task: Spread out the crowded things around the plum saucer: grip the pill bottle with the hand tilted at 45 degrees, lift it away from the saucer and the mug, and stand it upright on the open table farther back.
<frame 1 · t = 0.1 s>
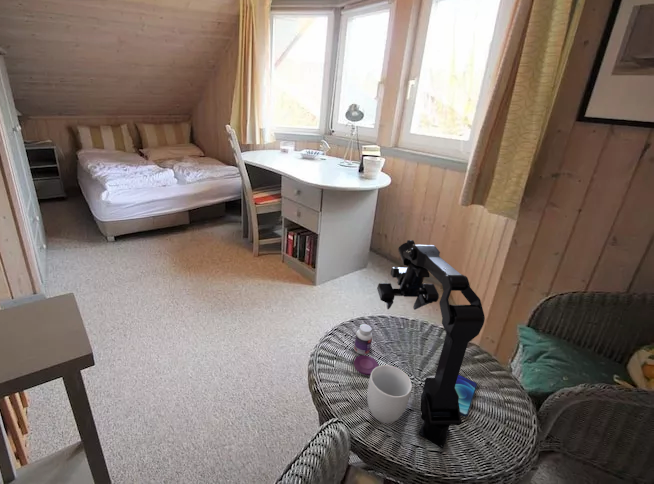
hand: (400, 308, 121), 15 cm above the table, tool pointing down, fingers open, 9 cm apart
smartphone: (458, 394, 108), on the table
pill bottle: (361, 350, 124), on the table
plum saucer: (365, 366, 117), on the table
mug: (385, 411, 102), on the table
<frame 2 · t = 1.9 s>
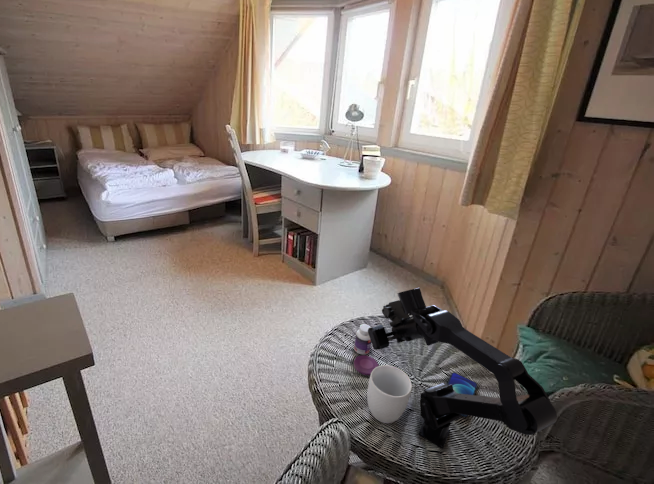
hand: (382, 334, 111), 13 cm above the table, tool tilted 45°, fingers open, 9 cm apart
nothing on the table moved.
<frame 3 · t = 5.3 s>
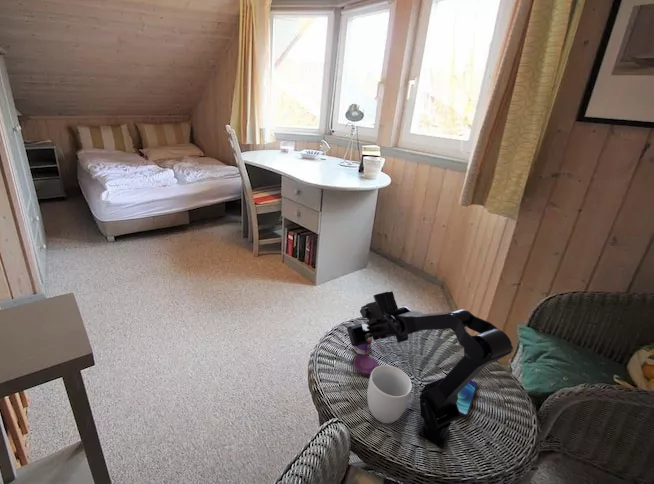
hand: (362, 332, 122), 7 cm above the table, tool tilted 45°, fingers closed on pill bottle, 5 cm apart
pill bottle: (361, 350, 124), on the table, touching gripper
everything else where it was.
when the fingers open (7 cm above the table, at t = 11.7 s): pill bottle stays where it is, on the table.
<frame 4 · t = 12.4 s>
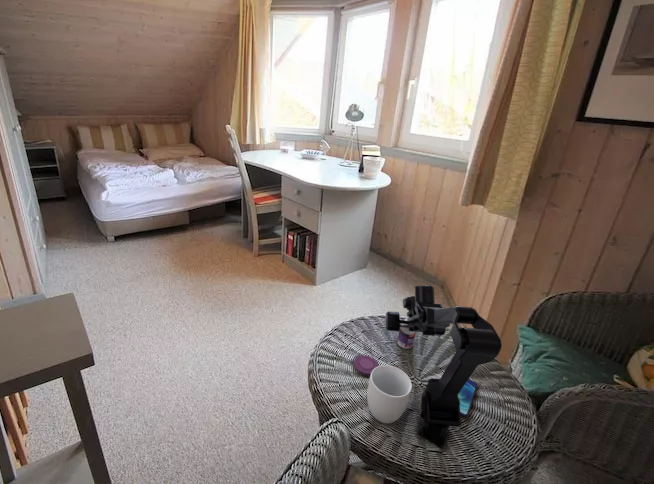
hand: (407, 325, 126), 7 cm above the table, tool tilted 45°, fingers open, 9 cm apart
pill bottle: (404, 344, 127), on the table
everything else where it was.
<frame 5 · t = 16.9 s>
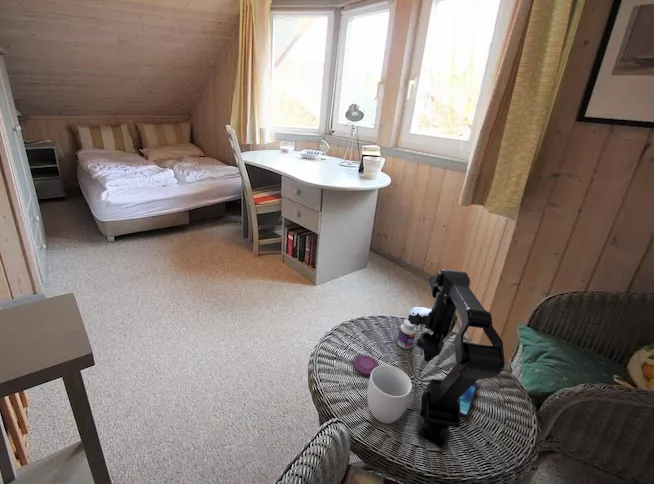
hand: (431, 352, 106), 13 cm above the table, tool pointing down, fingers open, 9 cm apart
nothing on the table moved.
at the end: pill bottle tilted 0°; pill bottle touching table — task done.
